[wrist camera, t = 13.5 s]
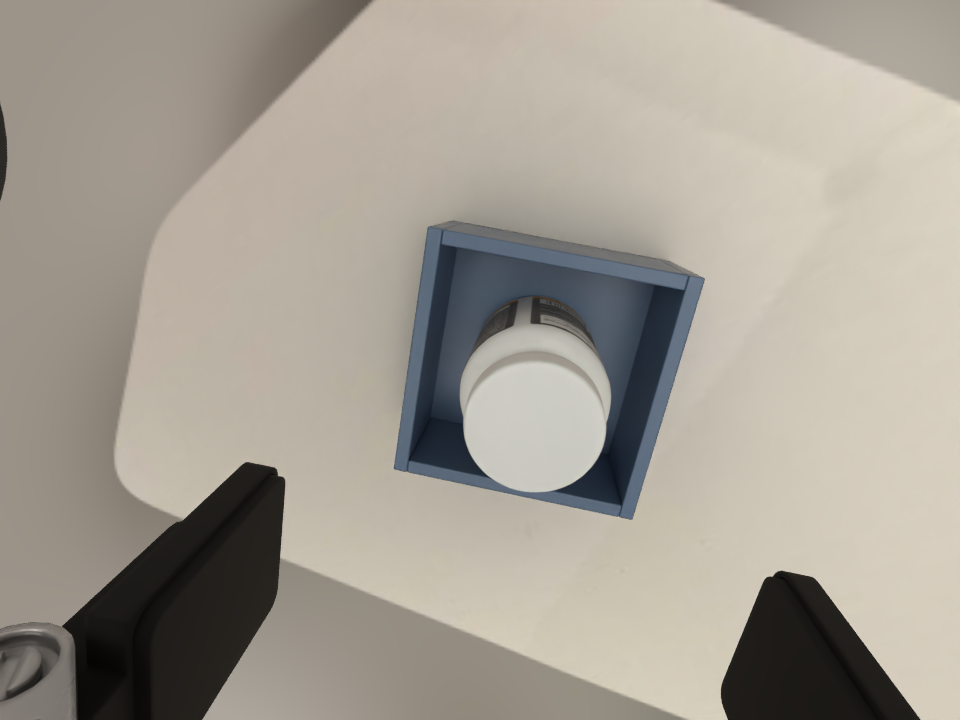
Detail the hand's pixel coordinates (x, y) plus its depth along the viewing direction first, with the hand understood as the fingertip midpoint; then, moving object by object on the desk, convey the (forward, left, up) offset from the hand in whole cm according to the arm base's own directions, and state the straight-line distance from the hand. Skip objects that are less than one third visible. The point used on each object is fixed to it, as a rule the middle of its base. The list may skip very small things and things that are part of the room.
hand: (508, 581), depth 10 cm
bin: (0, 0, -18) cm, 18 cm away
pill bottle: (0, 0, -18) cm, 18 cm away
